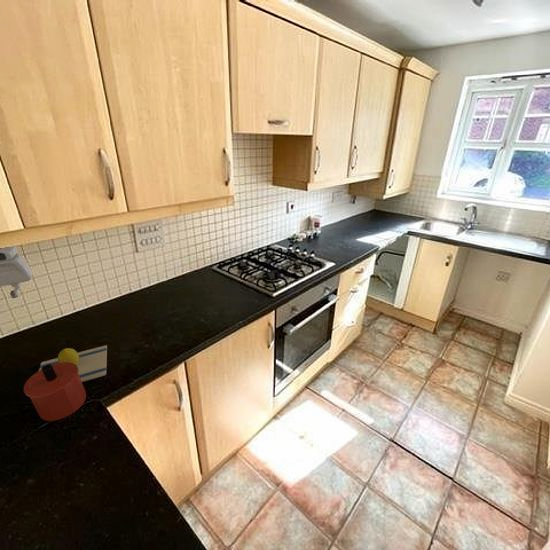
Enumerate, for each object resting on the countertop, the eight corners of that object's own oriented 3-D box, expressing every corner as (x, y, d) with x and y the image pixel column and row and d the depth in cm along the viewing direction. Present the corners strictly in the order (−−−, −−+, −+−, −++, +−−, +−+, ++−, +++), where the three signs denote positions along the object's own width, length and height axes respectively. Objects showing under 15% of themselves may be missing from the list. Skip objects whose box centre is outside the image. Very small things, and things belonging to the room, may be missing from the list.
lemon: (64, 376, 96) (55, 357, 93) (61, 367, 100) (53, 348, 97) (83, 368, 100) (76, 349, 96) (80, 359, 103) (73, 341, 100)
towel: (31, 397, 90) (30, 396, 90) (42, 363, 103) (41, 362, 103) (106, 375, 98) (105, 373, 97) (107, 346, 110) (106, 345, 110)
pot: (35, 427, 81) (21, 402, 77) (43, 396, 90) (31, 372, 86) (84, 411, 85) (74, 386, 81) (87, 383, 95) (78, 359, 90)
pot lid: (19, 406, 76) (11, 392, 74) (30, 373, 86) (23, 360, 84) (76, 389, 81) (70, 375, 79) (81, 359, 91) (75, 346, 89)
